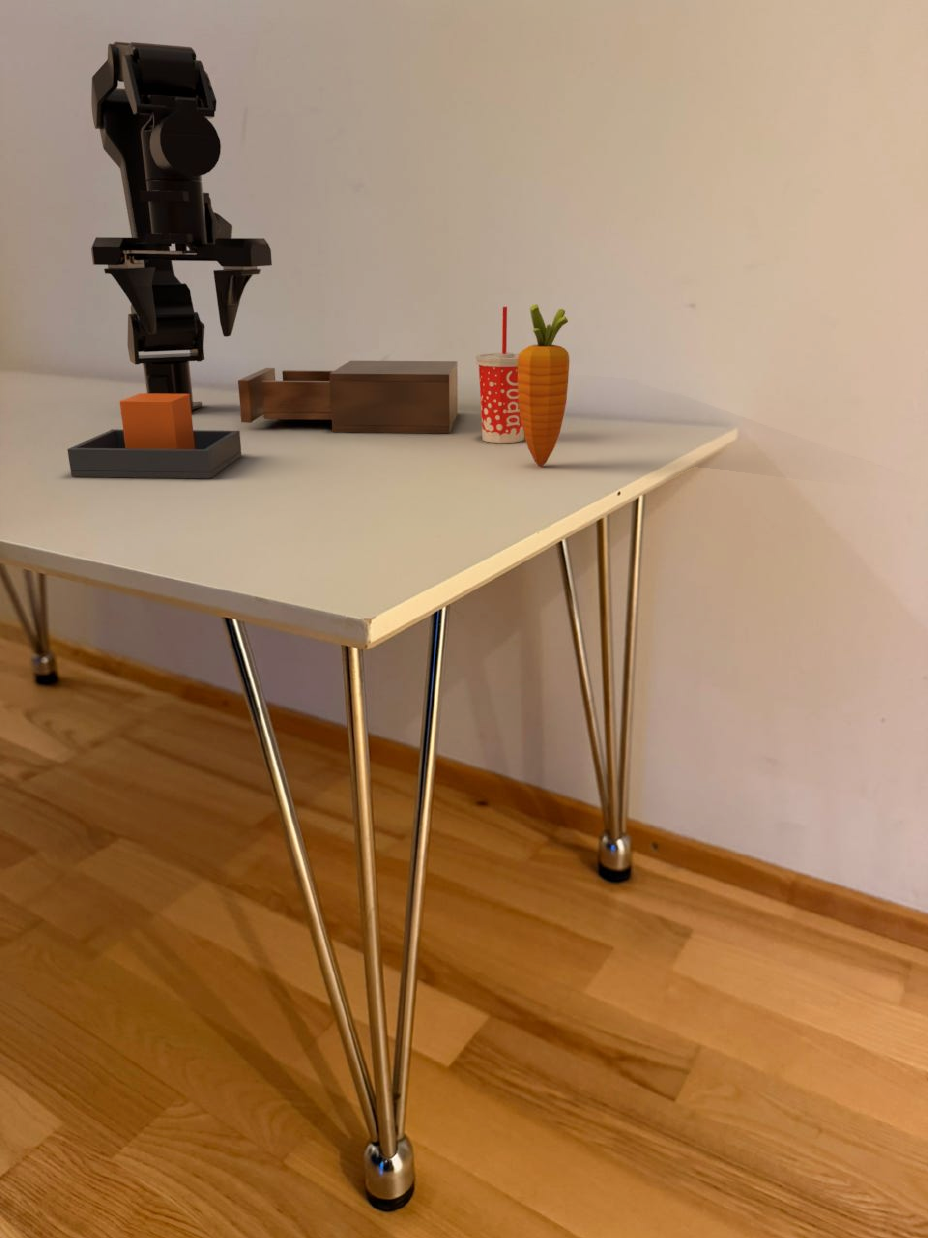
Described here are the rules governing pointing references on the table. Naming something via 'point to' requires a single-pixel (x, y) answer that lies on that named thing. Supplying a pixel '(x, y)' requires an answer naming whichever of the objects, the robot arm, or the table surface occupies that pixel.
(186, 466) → the tray
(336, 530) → the table surface
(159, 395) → the cube
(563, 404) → the carrot
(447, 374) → the cabinet
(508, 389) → the beverage cup
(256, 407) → the drawer
